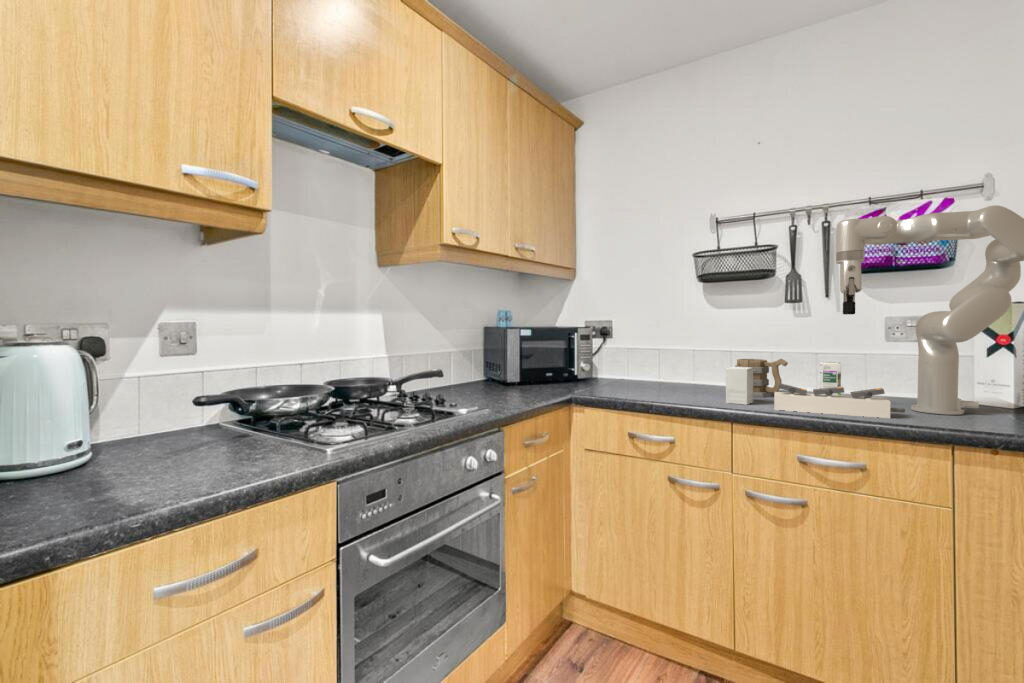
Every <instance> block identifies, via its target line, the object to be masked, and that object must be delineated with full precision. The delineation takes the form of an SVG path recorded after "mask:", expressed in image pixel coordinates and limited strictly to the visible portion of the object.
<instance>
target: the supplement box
mask: <svg viewBox="0 0 1024 683" xmlns="http://www.w3.org/2000/svg"><path fill="white" fill-rule="evenodd" d="M725 403H726V404H734V405H745V406H748V405H750V403H751V404H753V403H754V397H753V368H749V367H735V366H730V367H726V368H725Z"/></svg>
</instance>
